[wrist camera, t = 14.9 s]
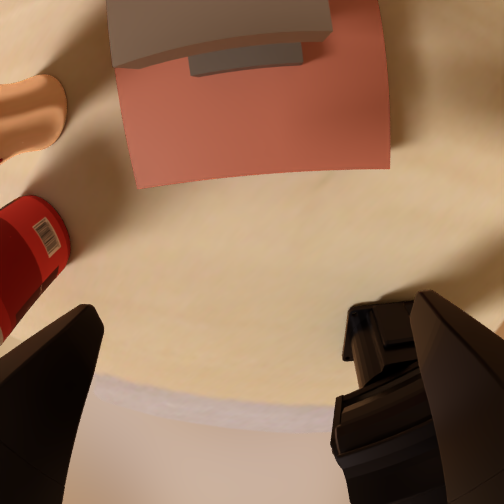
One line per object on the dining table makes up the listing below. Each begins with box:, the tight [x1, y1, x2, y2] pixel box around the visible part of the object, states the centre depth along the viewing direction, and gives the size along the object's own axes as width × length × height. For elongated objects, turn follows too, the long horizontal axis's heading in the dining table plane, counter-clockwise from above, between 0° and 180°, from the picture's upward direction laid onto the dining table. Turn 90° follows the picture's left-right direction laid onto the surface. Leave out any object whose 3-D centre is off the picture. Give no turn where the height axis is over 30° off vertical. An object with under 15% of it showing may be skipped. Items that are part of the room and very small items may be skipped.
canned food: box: [0, 195, 71, 346], centre depth 17 cm, size 8×8×11 cm
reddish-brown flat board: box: [115, 0, 390, 189], centre depth 12 cm, size 18×14×3 cm
